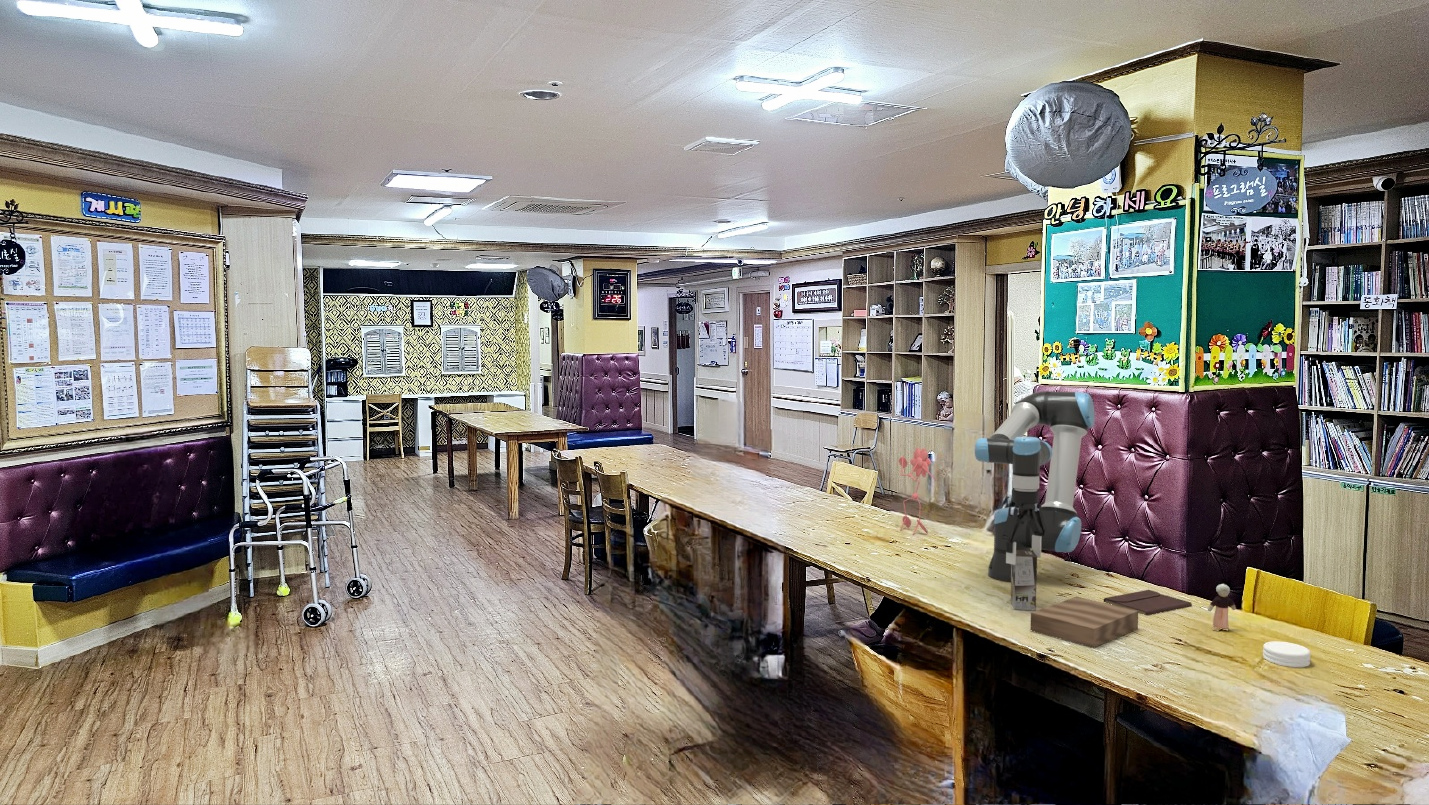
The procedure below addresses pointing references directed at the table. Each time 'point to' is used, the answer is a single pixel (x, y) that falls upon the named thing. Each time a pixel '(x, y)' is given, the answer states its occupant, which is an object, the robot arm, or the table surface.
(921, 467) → the figurine
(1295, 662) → the white round tin
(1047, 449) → the robot arm
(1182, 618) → the table surface
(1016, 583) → the coffee box
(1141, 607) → the notebook
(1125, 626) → the walnut step
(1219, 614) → the grandmother figurine
